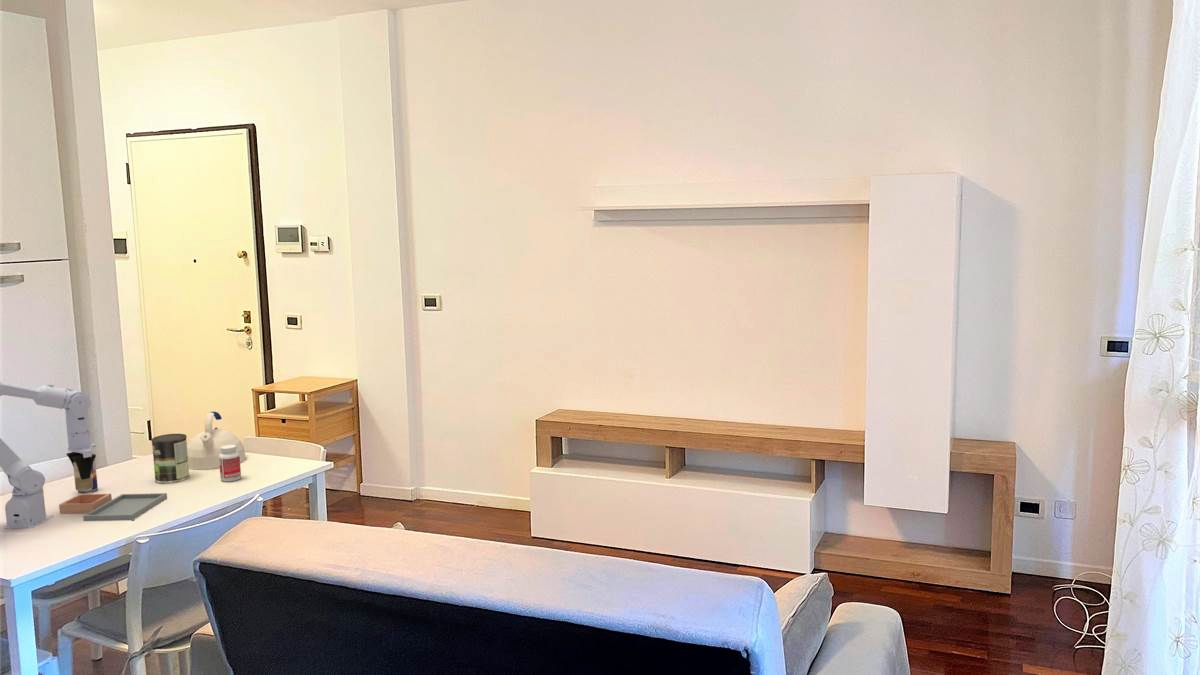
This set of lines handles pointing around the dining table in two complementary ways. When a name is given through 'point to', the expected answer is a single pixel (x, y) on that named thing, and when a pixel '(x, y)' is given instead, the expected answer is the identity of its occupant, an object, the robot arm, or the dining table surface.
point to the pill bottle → (229, 464)
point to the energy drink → (94, 478)
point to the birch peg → (81, 483)
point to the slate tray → (125, 507)
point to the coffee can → (170, 458)
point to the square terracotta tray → (84, 503)
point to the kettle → (211, 446)
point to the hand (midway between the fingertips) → (83, 477)
